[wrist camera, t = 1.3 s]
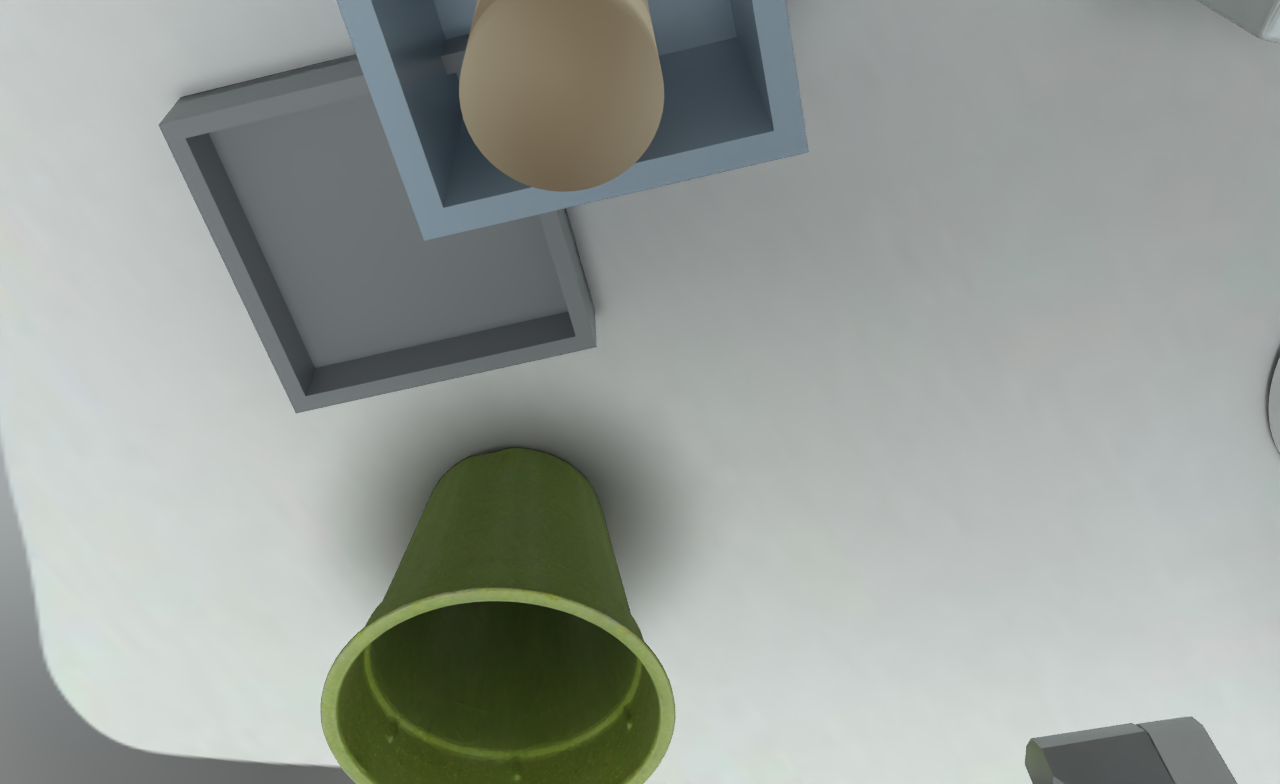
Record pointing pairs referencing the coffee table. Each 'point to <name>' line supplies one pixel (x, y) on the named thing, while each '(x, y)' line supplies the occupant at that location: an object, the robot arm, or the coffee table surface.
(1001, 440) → the coffee table surface
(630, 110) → the dowel
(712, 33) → the blue storage bin
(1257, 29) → the supplement box
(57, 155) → the coffee table surface
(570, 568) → the plant pot
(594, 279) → the coffee table surface
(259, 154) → the tray
